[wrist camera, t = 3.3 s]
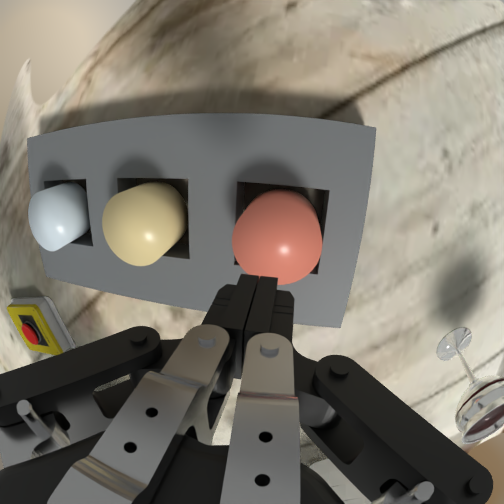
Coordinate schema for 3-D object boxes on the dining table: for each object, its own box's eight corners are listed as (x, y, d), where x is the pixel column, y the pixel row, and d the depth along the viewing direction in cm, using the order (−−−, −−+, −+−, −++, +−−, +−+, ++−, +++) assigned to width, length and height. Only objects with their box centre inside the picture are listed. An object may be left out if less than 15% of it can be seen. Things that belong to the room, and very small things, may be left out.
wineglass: (419, 356, 26) (448, 441, 15) (459, 312, 23) (508, 392, 12) (448, 371, 26) (477, 445, 16) (485, 333, 24) (527, 403, 13)
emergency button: (64, 363, 32) (20, 353, 35) (79, 346, 36) (34, 339, 39) (33, 309, 29) (-4, 309, 32) (52, 294, 33) (11, 297, 36)
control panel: (366, 128, 19) (376, 127, 16) (337, 308, 25) (340, 328, 23) (46, 135, 23) (27, 138, 20) (61, 266, 29) (46, 276, 27)
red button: (322, 192, 20) (328, 205, 16) (313, 263, 22) (315, 289, 18) (245, 185, 20) (233, 196, 17) (242, 255, 23) (230, 279, 19)
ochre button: (188, 181, 21) (165, 192, 17) (189, 249, 23) (169, 270, 19) (127, 180, 22) (99, 190, 18) (132, 242, 24) (107, 261, 20)
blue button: (89, 181, 22) (60, 190, 18) (95, 238, 24) (69, 254, 21) (52, 182, 23) (24, 192, 19) (59, 234, 25) (34, 247, 21)
